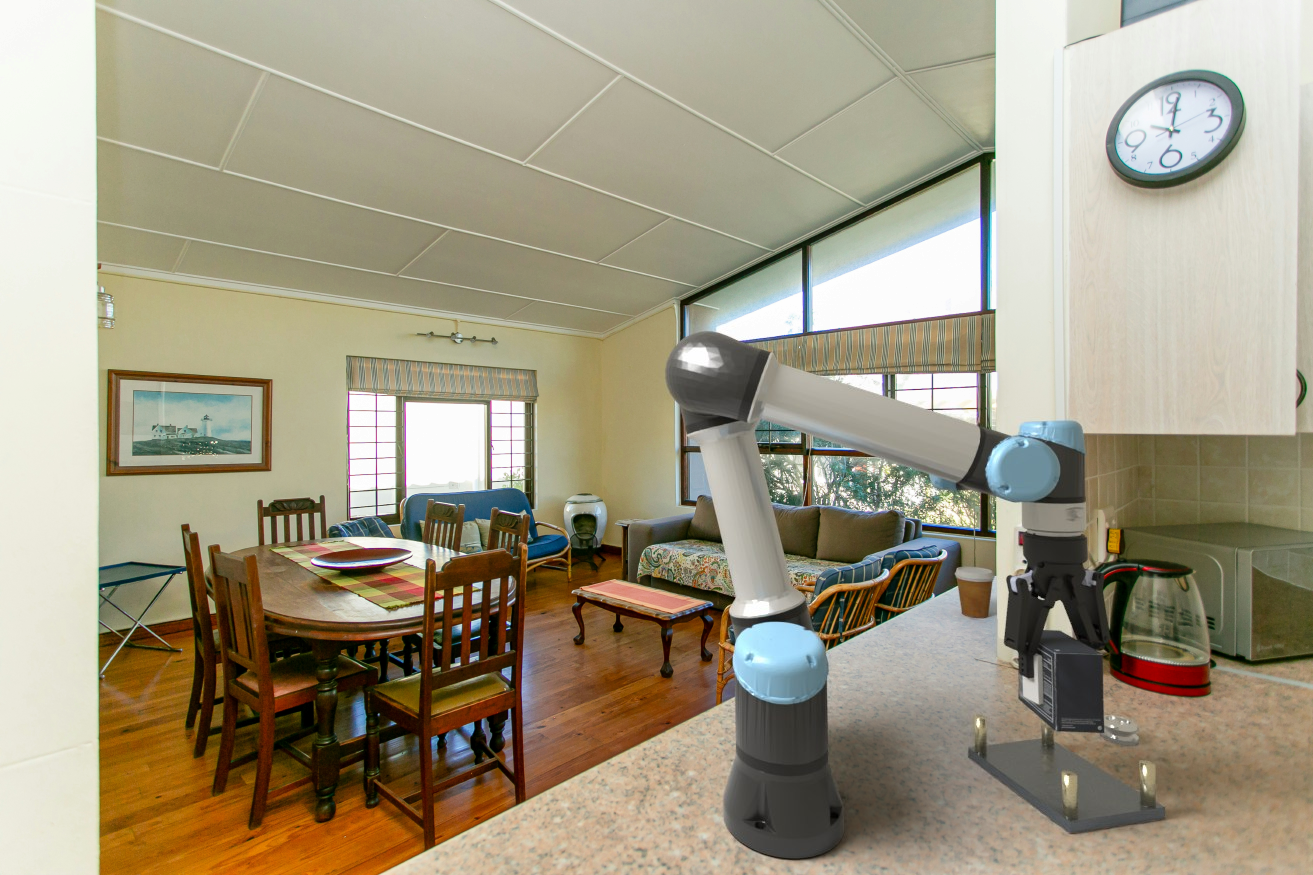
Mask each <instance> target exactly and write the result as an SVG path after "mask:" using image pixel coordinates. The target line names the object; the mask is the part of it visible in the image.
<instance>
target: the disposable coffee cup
mask: <svg viewBox="0 0 1313 875" xmlns="http://www.w3.org/2000/svg"><path fill="white" fill-rule="evenodd" d="M954 575H955V578H956V581H957V582H956V583H957V588H958V596H959V602H960V608H961V614H962V615H963V616H965V617H970V618H973V619H974V618H976V619H985V618H988V617H989V613H990V605H991V598H992V591H993V590H992V587H993V582H994V579H995V577H996V576H995V575H994V572H993V570H991V569H989V568H984V567H977V566H960V567H957V568H956V571H955V572H954Z"/></svg>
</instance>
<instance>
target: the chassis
mask: <svg viewBox="0 0 1313 875" xmlns="http://www.w3.org/2000/svg"><path fill="white" fill-rule="evenodd" d="M973 720H974V722H973V726H974V727H973V728H974V729H973V732H974V733H973V734H974V736H973V738H974V746H968V748H967V758H969V759H970V760H971V761H972V762H974V763H975V764H977V765H978V766H979V767H980V768H982V769H983V770H984V771H986V772H987V773H989V774H990V775H991V776H993V777H994V778H995V779H996V780H998V781H999V782H1001V783H1002V784H1003V785H1005V787H1007V788H1008V789H1010V790H1011V791H1012V792H1014V793H1016V795H1018V796H1019V797H1020V798H1021V799H1024V800H1025V802H1027V803H1029V804H1030V806H1033V807H1034V808H1035V809H1036V810H1038V811H1039V812H1040V813H1042V814H1043V815H1044V816H1045V817H1046V818H1048V819H1050V820H1051V821H1052V822H1054V824H1057V825H1058V826H1059V827H1061V829H1063V830H1064V831H1065V832H1067V833H1069V834H1070V835H1072V834H1079V833H1084V832H1091V831H1092V832H1093V831H1096V830H1104V829H1110V828H1117V827H1122V826H1123V827H1124V826H1128V825H1134V824H1136V825H1137V824H1140V823H1148V822H1153V821H1160V820H1166V806H1164V805H1162V804H1161V803H1160V802H1157V784H1156V783H1157V781H1156V780H1157V779H1156V777H1157V775H1156V773H1157V772H1156V771H1157V770H1156V769H1157V768H1156V767H1157V766H1156V764H1155V763H1154V762H1152V761H1150V760H1146V759H1140V760H1139V762H1138V765H1139V769H1138V771H1139V790H1137V789H1135V787H1133V786H1130V785H1129V784H1128V783H1126V782H1125V781H1123V780H1121V779H1119V778H1117V777H1116V776H1114V775H1112V774H1111V773H1109V772H1108V771H1105V770H1104V769H1102V768H1100V767H1099V766H1097V765H1096V764H1094V763H1092V762H1091V761H1089V760H1088V759H1085V758H1083V757H1082V756H1080V755H1078V754H1077V753H1075V752H1073V751H1072V750H1070V749H1069V748H1067V747H1065V746H1063V745H1061V744H1060V743H1058V742H1057V741H1055V731H1054V730H1053V729H1052V728H1051V727H1050V726H1049V725H1048V724H1046V723H1045V722H1044V721H1043V720H1042V719H1041V718H1040V723H1041V724H1040V725H1041V729H1040V732H1041V738H1033V739H1032V738H1031V739H1025V740H1017V741H1009V742H1001V743H994V744H993V743H992V744H988V741H987V740H988V738H987V737H988V735H987V732H988V731H987V717H986V716H985V715H982V714H975V715H974V716H973Z"/></svg>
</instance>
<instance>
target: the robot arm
mask: <svg viewBox="0 0 1313 875" xmlns="http://www.w3.org/2000/svg"><path fill="white" fill-rule="evenodd" d="M664 370H665V371H664V372H665V373H664V376H665V377H664V379H665V383H666V387H667V389H668V391H669V394H670V396H671V397H672V399H674V401H675V402H676V404H677V405H678V406H679V408H680V413H681V416H682V421H683V424H684V429H685V433H686V437H687V438H689V439H690V440H692V441H693V442H694V443H697V445H698V446H699V449H700V453H701V456H702V460H703V461H702V462H703V466H704V469H705V473H706V474H705V475H706V477H707V478H706V479H707V482H708V486H709V491H710V495H711V498H712V499H711V500H712V503H713V507H714V511H715V515H716V516H715V517H716V519H717V523H718V525H717V526H718V527H719V532H720V536H721V540H722V544H723V549H724V553H725V557H726V562H727V566H728V568H729V569H728V570H729V574H730V579H731V583H732V588H733V590H734V596H735V599H734V600H733V602H732V604H731V605H730V608H729V609H728V612H729V617H730V620H731V625H732V629H733V634H734V638H735V644H734V651H733V654H732V667H733V671H734V707H735V708H734V716H735V720H734V723H735V756H734V759H733V762H732V766H731V769H730V772H729V775H728V778H727V782H726V784H725V788H724V792H723V796H722V807H723V808H722V810H723V811H722V817H724V818H723V822H724V824H725V826H726V828H727V830H728V831H729V833H730V834H731V835H732V836H733V837H734V838H735V839H736V840H738V842H740V843H741V844H743V845H744V846H746V847H748V848H749V849H752V850H754V851H757V852H758V853H761V854H765V855H767V856H772V857H775V858H776V857H777V858H782V859H784V858H785V859H805V858H812V857H817V856H819V855H822V854H824V853H826V852H829V851H831V849H833V848H834V847H836V846H837V845H838V844H839V842H840V841H841V840H842V838H843V835H844V832H845V814H844V813H845V811H844V805H843V801H842V798H841V795H840V792H839V790H838V787H837V784H836V781H835V778H834V774H833V771H832V768H831V766H830V762H829V760H830V759H829V721H828V720H829V719H828V718H829V714H828V713H829V712H828V675H829V668H830V667H829V666H830V665H829V659H828V656H827V649H826V647H825V643H824V641H823V640H822V639H821V638H820V636H819V635H818V634H816V632H815V629H814V627H813V624H812V619H811V614H810V612H809V607H808V604H807V600H806V596H805V594H804V593H803V592H802V591H799V589H797V588H796V587H794V586H793V584H792V581H791V577H790V573H789V568H788V565H787V561H786V557H785V556H786V555H785V553H784V548H783V545H782V541H781V536H780V532H779V528H778V523H777V520H776V516H775V512H774V508H773V503H772V499H771V495H770V491H769V487H768V483H767V479H766V478H767V477H766V475H765V474H766V473H765V470H764V467H763V463H762V457H761V454H760V450H759V447H758V446H759V445H758V442H757V437H756V433H755V432H756V429H757V427H758V426H759V424H760V422H761V420H762V421H765V422H769V423H772V424H775V425H778V426H781V427H783V428H787V429H789V430H794V431H795V432H799V433H803V434H806V435H809V436H811V437H815V438H817V439H821V440H824V441H826V442H830V443H832V444H836V445H839V446H842V447H845V448H848V449H851V450H855V451H857V452H861V453H864V454H866V455H870V456H872V457H876V458H879V459H882V460H885V461H888V462H891V463H894V464H897V465H901V466H902V467H903V466H904V467H906V468H909V469H912V470H916V471H919V472H922V473H925V474H927V475H928V476H929V480H930V483H931V485H932V487H934V489H937V490H940V491H953V492H958V491H973V492H976V493H977V492H978V493H980V494H983V495H989V496H991V497H992V496H993V497H997V498H999V499H1002V500H1004V501H1008V502H1011V503H1021V527H1022V528H1023V529H1025V530H1026V531H1024V532H1023V533H1022V535H1021V536H1022V556H1023V557H1024V558H1025V561H1026V563H1027V564H1026V568H1025V571H1024V573H1022V574H1019V575H1017V576H1016V575H1011V574H1009V575H1006V579H1005V580H1006V585H1007V586H1006V587H1007V590H1008V593H1007V594H1008V596H1007V606H1006V607H1007V608H1006V615H1005V627H1004V636H1003V644H1004V646H1005V647H1007V648H1010V649H1012V650H1015V651H1016V652H1017V655H1018V656H1017V657H1018V661H1019V668H1018V670H1019V671H1018V674H1019V673H1020V675H1022V676H1023V696H1024V697H1026V698H1027V699H1029V700H1031V701H1033V702H1035V703H1037V704H1044V702H1043V668H1042V656H1041V655H1039V654H1037V653H1036V652H1037V649H1038V646H1039V643H1040V639H1041V636H1042V633H1043V630H1045V626H1046V623H1047V620H1048V616H1049V613H1050V611H1051V609H1054V607H1055V604H1056V602H1058V601H1060V602H1061V603H1062V605H1063V607H1064V610H1065V613H1066V615H1067V618H1068V621H1069V622H1070V623H1069V624H1070V625H1071V627H1072V628H1071V629H1072V631H1073V633H1074V635H1075V639H1076V640H1078V641H1080V642H1082V643H1083V644H1085V645H1087V646H1089V647H1091V648H1092V649H1094V650H1096V651H1098V652H1099V651H1100V652H1103V650H1104V649H1105V644H1108V643H1109V642H1110V641H1111V635H1110V634H1111V633H1110V627H1109V622H1108V620H1109V619H1108V615H1107V609H1106V602H1105V595H1104V584H1105V574H1104V573H1103V572H1101V571H1096V570H1092V569H1088V568H1085V567H1084V563H1087V561H1088V560H1089V554H1088V553H1089V551H1088V549H1089V548H1088V537H1087V536H1086V535H1085V534H1083V533H1084V532H1085V531H1086V530H1087V529H1088V528H1087V500H1086V499H1087V497H1086V456H1087V451H1086V445H1085V435H1084V430H1083V427H1082V425H1081V424H1080V423H1079V422H1078V421H1076V420H1071V419H1070V420H1045V421H1043V420H1041V421H1039V420H1038V421H1024V422H1022V423H1021V424H1020V425H1019V430H1018V433H1017V434H1016V435H1010V434H1006V433H1003V432H1001V431H998V430H994V429H991V428H987V427H984V426H980V425H977V424H976V423H972V422H969V421H965V420H962V419H959V418H956V417H953V416H950V415H946V414H943V413H940V412H936V411H933V410H931V409H927V408H923V407H920V406H918V405H914V404H911V403H908V402H905V401H902V400H899V399H895V398H892V397H889V396H885V395H882V394H880V393H875V392H873V391H871V390H866V389H863V388H860V387H857V386H854V385H850V384H846V383H843V382H841V381H837V380H835V379H831V378H828V377H824V376H821V375H818V374H815V373H812V372H809V371H805V370H802V369H799V368H795V367H792V366H791V365H789V366H788V365H785V364H783V363H780V362H779V360H778V359H777V358H776V356H775V353H774V352H771V351H768V350H764V349H761V348H758V347H756V346H753V345H751V344H748V343H746V342H743V341H741V340H738V339H736V338H733V337H731V336H729V335H727V334H724V333H722V332H719V331H718V332H717V331H711V330H709V331H705V330H704V331H699V332H695V333H692V334H689V335H687V336H685V337H684V338H682V339H680V341H678V343H676V344H675V346H674V347H673V349H672V350H671V351H670V353H669V356H668V358H667V360H666V363H665V369H664ZM1027 642H1028V644H1026V643H1027ZM1104 643H1105V644H1104Z"/></svg>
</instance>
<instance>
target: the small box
mask: <svg viewBox="0 0 1313 875" xmlns="http://www.w3.org/2000/svg"><path fill="white" fill-rule="evenodd" d="M1026 644H1028V642H1027V643H1026ZM1036 653H1037V654H1039V655H1041V656H1042V668H1043V702H1044V704H1037V703H1035V702H1033V701H1031V700H1029V699H1027V698H1026V697H1024V696H1023V676H1022V675H1020V673H1019V661H1018V663H1017V664H1018V665H1017V667H1018V696H1017V699H1018V700H1019V701H1020V702H1022V704H1023V705H1025V706H1026V707H1027V708H1028V709H1029V710H1030V711H1031V712H1033V713H1034V714H1035V715H1036V716H1037V717H1038V718H1040V720H1041V719H1042V720H1043V721H1044V722H1045V723H1046V724H1048V725H1049V726H1050V727H1051V728H1052V729H1053V730H1054V732H1059V733H1061V732H1063V733H1064V732H1065V733H1084V734H1085V733H1089V734H1090V733H1091V734H1099V733H1104V715H1105V708H1104V707H1105V705H1104V664H1103V663H1104V662H1103V659H1104V655H1103V653H1101V651H1100V652H1099V650H1094V649H1092V648H1091V647H1089V646H1087V645H1085V644H1083V643H1082V642H1080V641H1078V640H1077V639H1076V638H1074V637H1072V636H1070V635H1069V634H1067V633H1065V632H1063V631H1062V630H1059V629H1058V630H1056V629H1044V630H1043V633H1042V636H1041V639H1040V643H1039V646H1038V649H1037V652H1036Z"/></svg>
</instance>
